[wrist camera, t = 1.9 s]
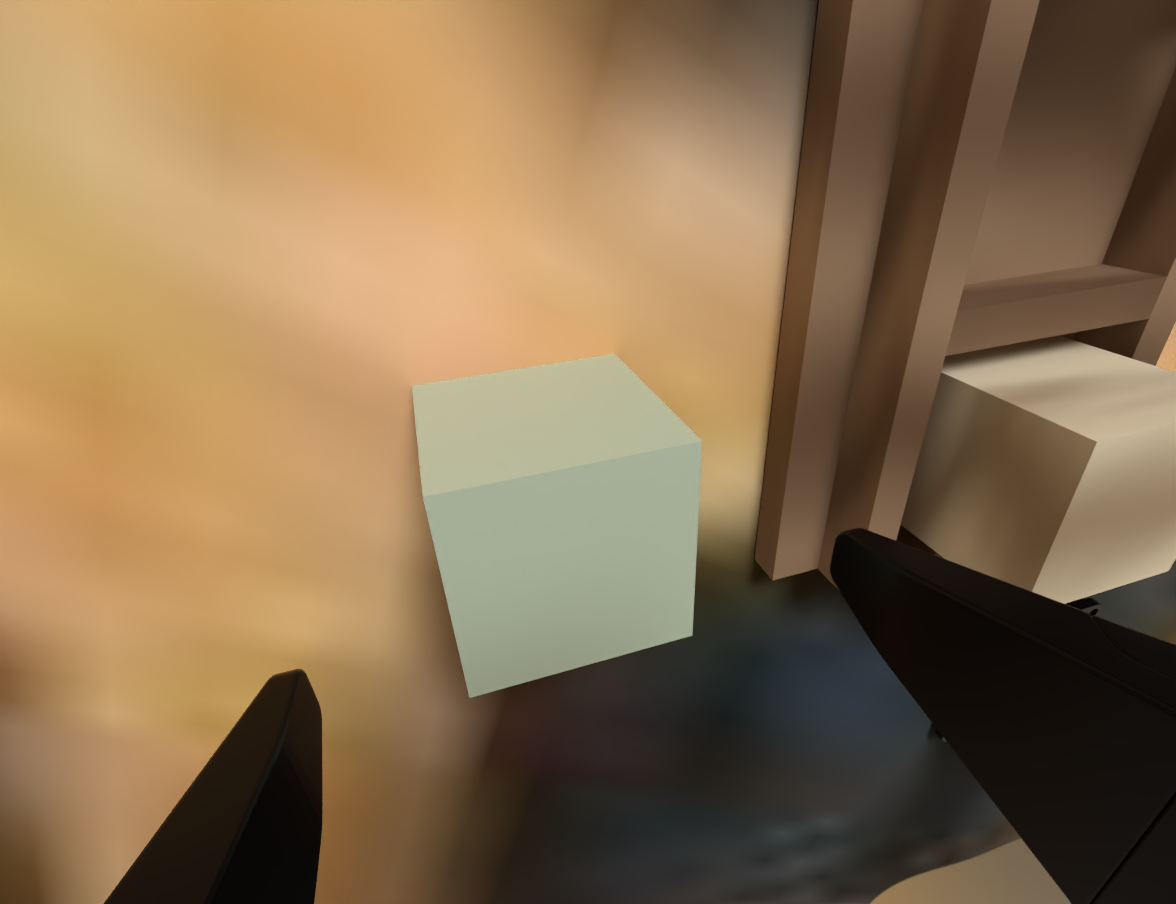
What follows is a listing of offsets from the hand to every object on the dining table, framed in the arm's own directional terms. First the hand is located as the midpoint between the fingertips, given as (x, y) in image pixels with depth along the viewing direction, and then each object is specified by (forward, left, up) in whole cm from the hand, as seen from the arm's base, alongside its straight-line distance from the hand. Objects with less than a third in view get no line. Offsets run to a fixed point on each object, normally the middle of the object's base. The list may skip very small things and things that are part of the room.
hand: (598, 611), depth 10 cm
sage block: (0, 0, -5) cm, 5 cm away
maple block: (-1, -12, -4) cm, 13 cm away
